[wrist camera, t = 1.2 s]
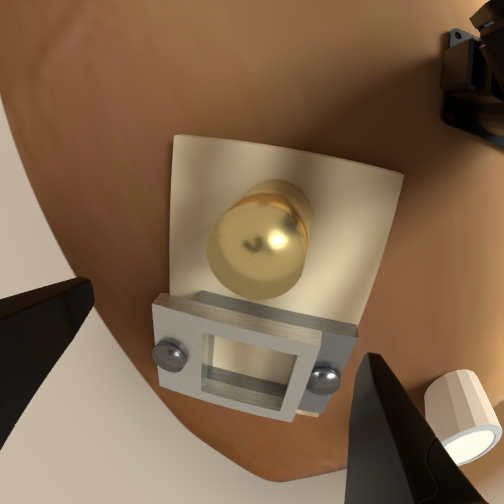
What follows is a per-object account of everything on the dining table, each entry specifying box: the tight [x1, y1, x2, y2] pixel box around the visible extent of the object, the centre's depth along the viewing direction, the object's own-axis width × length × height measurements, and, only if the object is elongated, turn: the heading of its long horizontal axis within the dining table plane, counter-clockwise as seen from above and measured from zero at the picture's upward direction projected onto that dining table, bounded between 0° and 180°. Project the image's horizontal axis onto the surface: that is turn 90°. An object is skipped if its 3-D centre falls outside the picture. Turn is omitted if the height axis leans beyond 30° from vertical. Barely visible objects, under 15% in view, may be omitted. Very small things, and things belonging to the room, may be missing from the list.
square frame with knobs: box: [152, 290, 358, 423], centre depth 22 cm, size 14×9×4 cm, turn 83°
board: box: [169, 134, 404, 417], centre depth 23 cm, size 14×22×1 cm, turn 173°
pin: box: [206, 179, 312, 300], centre depth 16 cm, size 4×4×6 cm
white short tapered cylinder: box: [424, 369, 502, 466], centre depth 20 cm, size 7×7×7 cm
